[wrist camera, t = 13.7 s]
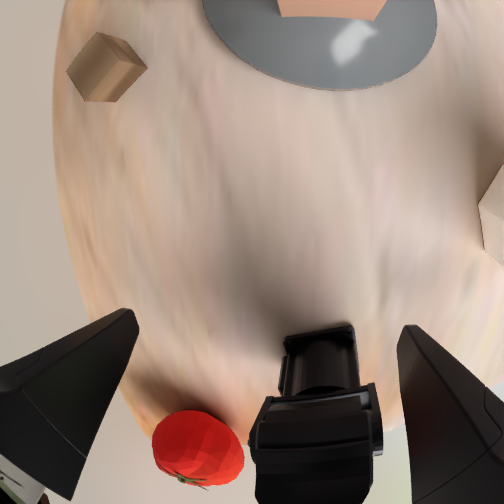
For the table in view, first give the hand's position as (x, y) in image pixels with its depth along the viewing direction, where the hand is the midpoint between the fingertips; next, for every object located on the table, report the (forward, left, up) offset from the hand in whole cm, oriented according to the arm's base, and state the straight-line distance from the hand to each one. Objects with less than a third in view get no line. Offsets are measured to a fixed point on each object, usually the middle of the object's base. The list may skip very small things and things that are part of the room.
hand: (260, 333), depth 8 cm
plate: (-8, -16, -13) cm, 22 cm away
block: (+9, -16, -13) cm, 23 cm away
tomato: (+18, +26, -13) cm, 35 cm away
